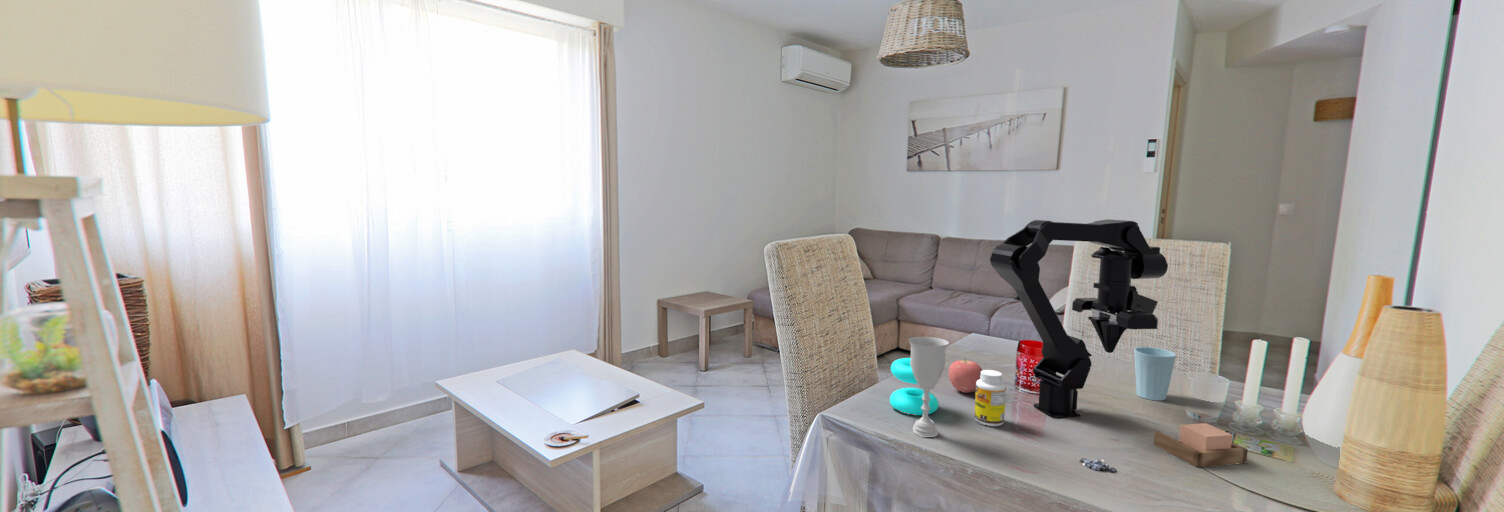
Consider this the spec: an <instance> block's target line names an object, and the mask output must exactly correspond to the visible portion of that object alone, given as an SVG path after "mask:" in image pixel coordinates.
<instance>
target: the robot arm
mask: <svg viewBox="0 0 1504 512" xmlns="http://www.w3.org/2000/svg"><path fill="white" fill-rule="evenodd" d="M1053 241H1069V242H1070V241H1071V242H1089V243H1091V244H1095V245H1099V246H1100V247H1099V248H1098V250H1095V252H1093V253H1092V254H1091V258H1092V259H1099V271H1098V282H1093V288H1094V289H1097V297H1076V298H1075V299H1074V300H1073V301H1072V304H1071V305H1072V306H1071V307H1072V308H1071V310H1072V311H1074V312H1077V313H1082V312H1083V311H1091V316H1088V317H1087V318H1088V320H1089V321H1090V322H1091V324H1092V326H1093V328H1094V330H1095V331H1096V333H1097V336H1098V338H1099V340H1100V343H1101V345H1102V347H1103V349H1104V352H1106V353H1109V354H1111V353H1114V351H1115V349H1116V347H1117V345H1118V343H1119V341H1120V339H1121V337H1122V336H1123V334H1124V333H1125V331H1126V330H1128V329H1129V330H1157V329H1158V327H1159V326H1158V325H1159V324H1158V323H1159V319H1158V317H1157V316H1156V315H1155V314H1154V312H1155V310H1156V309H1157V308H1156V307H1157V305H1158V302H1159V301H1157V300H1155V299H1152V298H1149V297H1147V296H1145V295H1141V294H1139V292H1138V289H1137V287H1136V285H1131V284H1132V280H1144V279H1159V278H1162V277H1164V276H1165V274H1166V273H1167V272H1168V268H1169V265H1168V262H1167V259H1166V257H1165V256H1164V255H1163V254H1162V253H1161V247H1159V246H1153V245H1152V246H1149V244H1148V242H1147V240H1146V238H1145V236H1144V234H1143V232H1142V231H1141V229H1140V226H1139V223H1138V222H1136V221H1134V220H1125V219H1123V220H1121V219H1102V220H1101V219H1100V220H1094V221H1093V222H1090V223H1083V222H1082V223H1081V222H1080V223H1079V222H1059V221H1058V222H1057V221H1051V220H1043V219H1035V220H1032V221H1030V222H1028V223H1027V225H1025V226H1024V228H1022V229H1021V230H1019V231H1017V232H1015V234H1012V235H1010V236H1009V237H1007V238H1006V239H1005V240H1004V241H1003V242H1001V243H1000V244H999V245H997V246H996V247H995V248H994V249H993V250H992V252H991V254H990V257H989V262H990V265H991V267H992V268H993V269H994V270H995V271H996V273H997V274H998V275H999V277H1000V278H1002V279H1003V281H1005V282H1007V284H1009V285H1010V286H1011V287H1012V288H1013V289H1014V291H1015V292H1016V295H1017V296H1018V298H1019V300H1020V302H1021V304H1022V305H1023V308H1024V309H1025V311H1026V313H1027V314H1028V316H1029V319H1030V320H1031V322H1032V324H1033V326H1034V328H1035V330H1036V332H1037V333H1038V335H1039V337H1040V340H1041V341H1042V347H1041V354H1042V356H1043V357H1042V358H1041V359H1040V360H1039V362H1037V364H1036V365H1034V367H1033V369H1032V371H1033V374H1034V375H1033V376H1034V377H1035V378H1037V379H1038V380H1040V381H1039V391H1038V392H1039V394H1038V395H1039V396H1038V403H1033V407H1034V408H1036V409H1037V410H1039V411H1040V412H1043V413H1044V414H1046V415H1047V416H1049V417H1052V418H1062V417H1063V418H1064V417H1065V418H1066V417H1079V416H1081V412H1079V411H1077V409H1078V408H1077V407H1078V395H1079V391H1078V390H1082V389H1084V386H1085V383H1086V382H1087V379H1088V375H1089V374H1090V371H1091V367H1092V360H1091V358H1090V357H1092V356H1093V355H1092V354H1091V353H1090V352H1089V351H1088V349H1087V346H1086V343H1085V341H1084V340H1083V339H1080V338H1077V337H1075V336H1073V335H1072V336H1071V335H1068V333H1067V331H1066V330H1065V327H1064V325H1063V324H1062V322H1061V321H1060V318H1059V317H1058V314H1057V313H1056V310H1055V309H1054V307H1053V305H1052V303H1051V300H1050V299H1049V297H1048V296H1047V294H1046V292H1045V290H1044V288H1043V286H1042V284H1041V282H1040V272H1041V268H1040V265H1039V263H1040V261H1042V260H1043V258H1044V256H1046V255H1047V251H1048V249H1049V245H1050V244H1051V242H1053ZM1061 375H1062V376H1061Z"/></svg>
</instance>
